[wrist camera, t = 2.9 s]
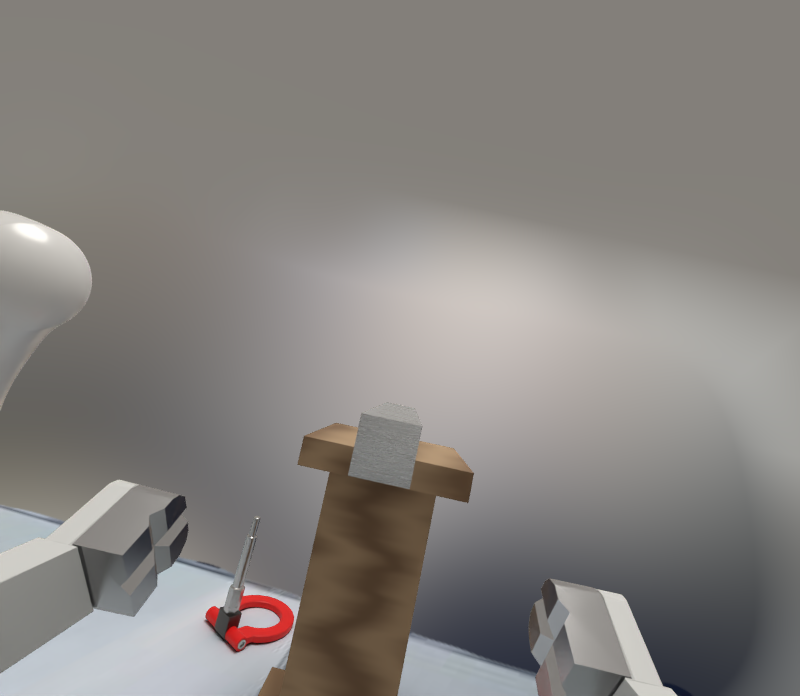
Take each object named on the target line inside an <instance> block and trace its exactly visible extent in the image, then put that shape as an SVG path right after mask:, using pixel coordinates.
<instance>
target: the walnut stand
mask: <svg viewBox="0 0 800 696" xmlns="http://www.w3.org/2000/svg"><path fill="white" fill-rule="evenodd" d="M357 431H358V428H357V427H353V426H348V425H343V424H339V423H334V424H332V425H330V426H327V427H325V428H322V429H320V430H318V431H315V432H313V433H310V434H308V435H305V436H304V439H303V443H302V447H301V452H300V456H299V460H298V465H301V466H305V467H310V468H314V469H319V470H323V471H328V472H330V473H329V477H328V482H327V486H326V491H325V495H324V500H323V504H322V509H321V514H320V518H319V523H318V527H317V531H316V536H315V541H314V544H313V549H312V554H311V558H310V562H309V567H308V572H307V576H306V580H305V585H304V589H303V594H302V598H301V602H300V607H299V611H298V616H297V620H296V625H295V629H294V634H293V638H292V643H291V647H290V652H289V656H288V661H287V665H286V669H285V670H282V669H278V668H274V667H272V669H271V671H270V673H269V675H268V677H267V679H266V681H265V683H264V685H263V687H262V689H261V691H260V693H259V695H258V696H397V694H398V689H399V684H400V679H401V674H402V669H403V663H404V658H405V653H406V648H407V643H408V638H409V632H410V627H411V622H412V617H413V612H414V606H415V601H416V596H417V591H418V585H419V581H420V576H421V570H422V565H423V560H424V555H425V550H426V544H427V539H428V534H429V529H430V524H431V519H432V514H433V508H434V503H435V498H436V496H440V497H444V498H449V499H453V500H458V501H462V502H467V503H468V502H469V496H470V491H471V485H472V480H473V475H474V473H473V472H472V471H471V469H470V468H469V467H468V466H467V464H466V463H465V462H464V461H463V459H462V458H461V457H460V456H459V454H458V453H457V452H456V451H455V449H454V448H449V447H445V446H440V445H436V444H430V443H426V442H422V441H419V445H418V450H417V455H416V460H415V465H414V470H413V475H412V480H411V485H410V489H406V488H401V487H397V486H392V485H388V484H383V483H379V482H374V481H370V480H365V479H361V478H357V477H352V476H348V473H349V468H350V463H351V459H352V454H353V450H354V445H355V441H356V436H357Z"/></svg>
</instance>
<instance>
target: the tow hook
mask: <svg viewBox="0 0 800 696" xmlns="http://www.w3.org/2000/svg"><path fill="white" fill-rule="evenodd" d="M260 519H261V518H260V517H259V516H255V517H254V519H253V522H252V526H251V529H250V533H249V534H247V537H246V541H245V544H244V547H243V551H242V554H241V558H240V561H239V565H238V568H237V572H236V575H235V579H234V582H233V584H232V585H231V586H230V588H229V592H228V595H227V599H226V602H225V606H224V607H220V609H218V608H217V607H215V606H213V607H211V608H210V609H209V610H208V611H207V613H206V619H207V620H208V621H209V622H210V623H211V624H212V625H213V626H214V627H215V630H216V631H217V632H218V633H219V635H220V636H221V637H222V638H223V639H224V640H227V641H228V642H229V644H230V645H231V646H232V647H233V648H234V649H235V650H236V651H238V652H239V651H241V650H242V649H244V647H245V646H246V644H248V643H251V642H254V643H266V642H271V641H276V640H278V639H280V638H282V637H284V636H285V635H286V634H288V633H289V631H290V630H291V628H292V625H293V621H294V615H293V612H292V611H291V609H290V608H289V607H288V606H287V605H286V604H284V603H283V602H281V601H279V600H277V599H275V598H271V597H268V596H261V595H249V596H243V593H244V590H245V586H244V582H245V579H246V575H247V571H248V568H249V564H250V561H251V557H252V553H253V550H254V546H255V543H256V539H257V535H256V533H257V529H258V526H259V522H260ZM249 607H261V608H266V609H269V610H271V611H273V612H275V613H276V614H277V615H278V616H279V618H280V622H279V623H278V624H276V625H275V626H272V627H268V628H253V627H249V626H244V627H241V628H238V625H239V621H240V618H241V614H242V613H241V612H240V610H242V609H245V608H249Z"/></svg>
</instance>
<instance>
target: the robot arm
mask: <svg viewBox="0 0 800 696" xmlns="http://www.w3.org/2000/svg"><path fill="white" fill-rule="evenodd" d="M91 287H92V275H91V270H90V266H89V264H88V261H87V259H86V257H85V256H84V254H83V253H82V251H81V250H80V249H79V247H78V246H77V245H76V244H74V242H72V241H71V240H70V239H69V238H68V237H66V236H65V235H63V234H62V233H60V232H58V231H56V230H53V229H52V228H50V227H48V226H45V225H43V224H41V223H39V222H37V221H34V220H31V219H29V218H26V217H24V216H21V215H18V214H14V213H11V212H7V211H1V210H0V410H1V407H2V404H3V402H4V400H5V397H6V395H7V393H8V391H9V389H10V387H11V385H12V383H13V381H14V380H15V378H16V377H17V375H18V374H19V372H20V370H21V369H22V367H23V366H24V365H25V363H26V362H27V360H28V359H29V357H30V356H31V355H32V353H33V352H34V351H35V349H36V348H37V347H38V345H39V344H40V343H41V341H42V340H43V339H44V338H45V337H46V336H47V335H48V334H49V333H50V332H51V331H52V330H53V329H55V328H56V327H58V326H59V325H61V324H63V323H65V322H67V321H68V320H70V319H71V318H73V317H74V316H75V315H76V314H78V313H79V311H80V310H81V309H82V308H83V307H84V305H85V303H86V302H87V300H88V298H89V295H90V292H91ZM186 508H187V506H186V499H185V496H181V495H178V494H174V493H170V492H166V491H162V490H158V489H155V488H150V487H147V486H143V485H139V484H134V483H130V482H126V481H122V480H117V481H114V482H112V483H110V484H108V485H107V486H106V487H105V488H104V489H103V490H101V491H100V492H99V493H98V494H97V495H96V496H94V497H93V498H92V499H91V500H90V501H89V502H87V503H86V504H85V505H84V506H83V507H82V508H81V509H79V510H78V511H77V512H76V513H75V514H74V515H72V516H71V517H70V518H69V519H68V520H67V521H65V522H64V523H63V524H62V525H61V526H60V527H59V528H57V529H56V530H55V531H54V532H53V533H52V534H50V535H49V536H48V537H47V538H46V539H44V538H39V537H38V538H36V539H33V540H31V541H29V542H26V543H24V544H21V545H19V546H17V547H14V548H12V549H9V550H7V551H5V552H2V553H0V673H2V672H3V671H5V670H6V669H8V668H9V667H11V666H12V665H14V664H15V663H17V662H18V661H20V660H21V659H23V658H24V657H26V656H27V655H29V654H30V653H32V652H33V651H35V650H36V649H38V648H39V647H41V646H42V645H44V644H45V643H47V642H48V641H50V640H51V639H53V638H54V637H56V636H57V635H59V634H60V633H62V632H63V631H65V630H66V629H68V628H69V627H71V626H72V625H74V624H75V623H77V622H78V621H80V620H81V619H83V618H84V617H85V616H87V615H88V614H90V613H91V612H93V608H94V609H99V610H103V611H108V612H113V613H117V614H122V615H127V616H132V617H134V616H135V615H136V614H137V612H138V611H139V610H140V608H141V607H142V606H143V604H144V603H145V601H146V600H147V599H148V597H149V596H150V595H151V593H152V592H153V591H154V589H155V588H156V587H157V574H159V573H161V572H163V571H164V570H166V569H168V568H170V567H171V566H172V565H173V564H174V562H175V561H176V559H177V558H178V557H179V555H180V553H181V551H182V549H183V547H184V545H185V542H186V540H187V535H188V522H187V520H186V519H185V518H184V516H183V515H182V513H183V512H184V510H185V509H186ZM541 591H542V596H543V599H541V600H539V601H537V602H535V603H534V606H533V608H532V611H531V613H530V621H529V640H530V647H531V653H532V654H533V656H534V657H535V658H536V660H537V661H538V663H539V664H540V666H541V667H540V670H539V671H538V673H537V675H536V677H535V678H536V684H537V690H538V695H539V696H677V695H676V694H675V692H674V691H673V690H672V689H670V688H667V687H663V685H662V683H661V681H660V678H659V676H658V674H657V671H656V669H655V667H654V664H653V662H652V659H651V657H650V655H649V652H648V650H647V647H646V645H645V643H644V640H643V638H642V636H641V633H640V631H639V629H638V626H637V624H636V621H635V619H634V617H633V614H632V612H631V610H630V607H629V605H628V603H627V601H626V599H625V598H624V597H623V596H622V595H619V594H616V593H611V592H606V591H603V590H598V589H594V588H592V587H587V586H582V585H577V584H572V583H568V582H563V581H559V580H554V579H548V580H546V581H545V582H544V584H543V586H542V588H541Z"/></svg>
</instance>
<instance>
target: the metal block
mask: <svg viewBox="0 0 800 696" xmlns="http://www.w3.org/2000/svg"><path fill="white" fill-rule="evenodd" d="M421 430H422V424H421V422H420V419H419V417H418V414H417V412H416V410H415V408H411V407H406V406H401V405H397V404H392V403H384V404H382V405H379V406H377V407H375V408H373V409H370V410H368V411H365V412H363V413H362V414H361V418H360V422H359V427H358V431H357V436H356V441H355V445H354V450H353V454H352V459H351V463H350V468H349V473H348V476H352V477H357V478H361V479H365V480H370V481H374V482H379V483H383V484H388V485H392V486H397V487H401V488H406V489H410V485H411V480H412V475H413V470H414V465H415V460H416V455H417V450H418V445H419V439H420V435H421Z"/></svg>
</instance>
